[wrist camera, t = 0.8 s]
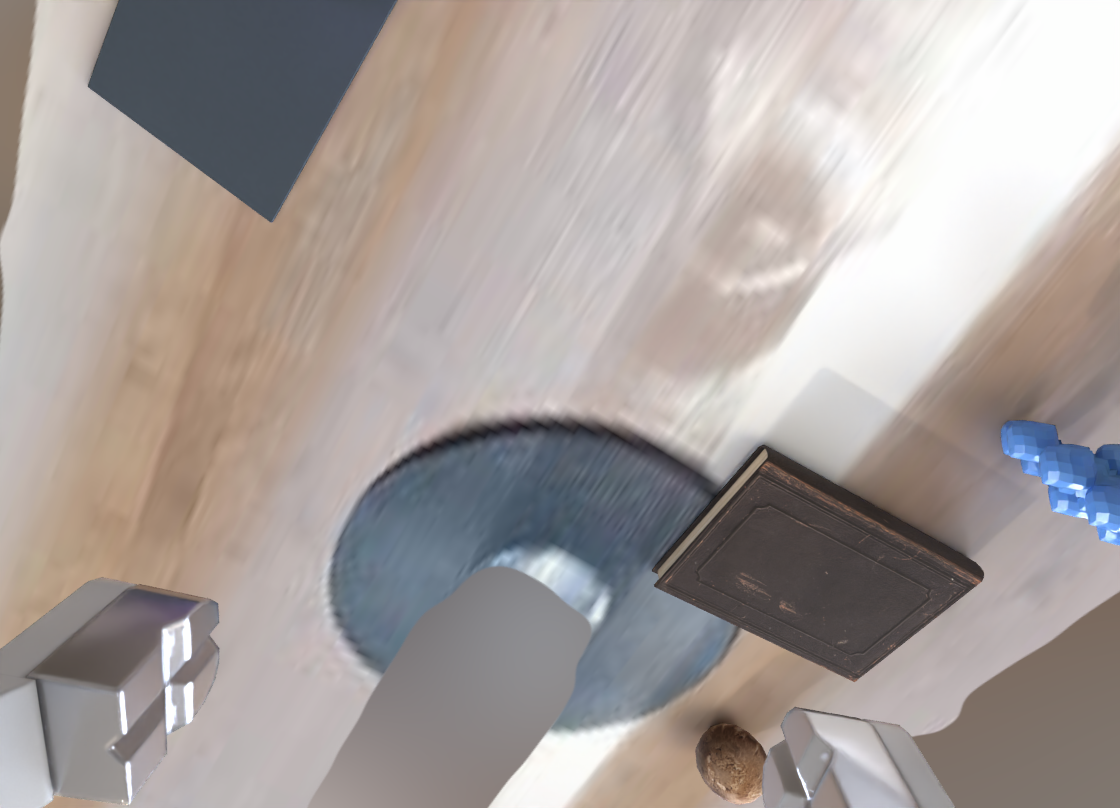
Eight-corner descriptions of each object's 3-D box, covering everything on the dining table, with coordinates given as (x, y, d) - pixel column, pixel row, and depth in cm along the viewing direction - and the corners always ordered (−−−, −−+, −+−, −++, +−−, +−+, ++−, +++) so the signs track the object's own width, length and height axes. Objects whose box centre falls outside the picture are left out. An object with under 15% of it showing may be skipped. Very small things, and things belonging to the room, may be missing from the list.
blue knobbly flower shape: (1121, 451, 45) (1289, 557, 34) (1039, 504, 47) (1171, 618, 36) (1037, 363, 42) (1192, 448, 31) (955, 424, 44) (1072, 522, 33)
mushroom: (791, 781, 60) (773, 824, 55) (722, 773, 65) (700, 811, 60) (766, 707, 61) (747, 743, 56) (700, 704, 66) (677, 737, 61)
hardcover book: (845, 662, 57) (854, 682, 55) (652, 569, 52) (654, 587, 50) (972, 557, 50) (988, 576, 48) (763, 441, 46) (771, 456, 44)
